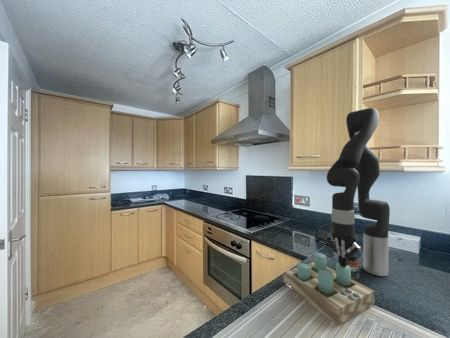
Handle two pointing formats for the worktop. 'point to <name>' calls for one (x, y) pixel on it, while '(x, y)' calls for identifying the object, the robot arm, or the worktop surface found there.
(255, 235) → the worktop surface
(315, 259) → the button
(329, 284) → the button
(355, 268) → the supplement bottle
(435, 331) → the worktop surface
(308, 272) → the button
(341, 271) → the button
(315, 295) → the console
